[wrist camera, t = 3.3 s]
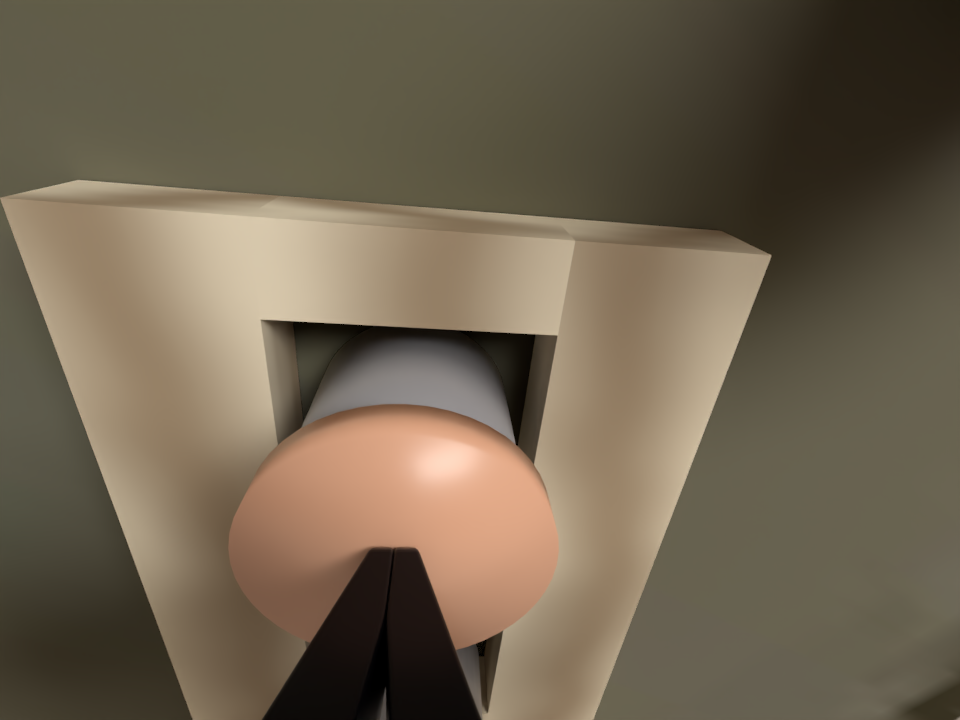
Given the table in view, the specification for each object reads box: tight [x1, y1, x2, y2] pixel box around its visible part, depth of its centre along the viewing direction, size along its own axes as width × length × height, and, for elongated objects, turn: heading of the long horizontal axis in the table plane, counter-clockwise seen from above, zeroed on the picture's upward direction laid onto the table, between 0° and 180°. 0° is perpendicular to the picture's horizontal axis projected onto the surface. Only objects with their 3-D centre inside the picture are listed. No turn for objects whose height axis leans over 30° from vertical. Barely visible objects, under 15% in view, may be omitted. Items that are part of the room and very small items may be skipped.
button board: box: [0, 180, 772, 720], centre depth 16 cm, size 14×28×2 cm, turn 175°
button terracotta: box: [228, 326, 559, 650], centre depth 11 cm, size 6×6×5 cm
